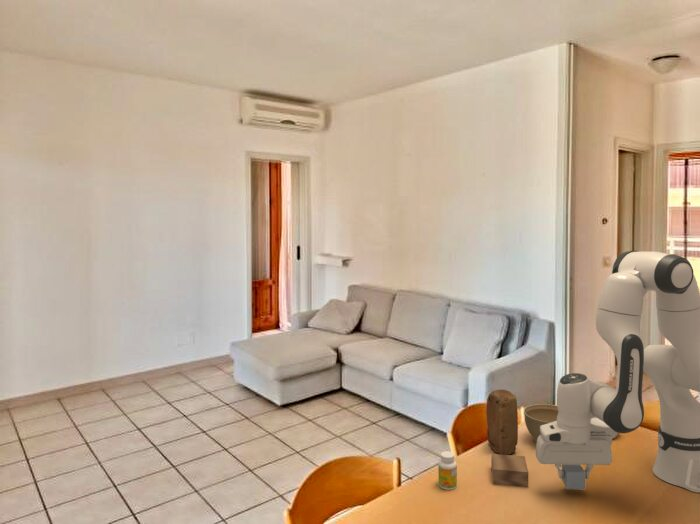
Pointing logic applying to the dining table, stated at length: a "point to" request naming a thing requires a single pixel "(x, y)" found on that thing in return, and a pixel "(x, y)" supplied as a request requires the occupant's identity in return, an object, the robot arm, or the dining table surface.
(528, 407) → the planter bowl
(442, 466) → the supplement bottle
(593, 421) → the ramekin
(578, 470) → the slate cube
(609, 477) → the dining table surface
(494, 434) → the brown rounded block
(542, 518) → the dining table surface
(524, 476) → the walnut block
